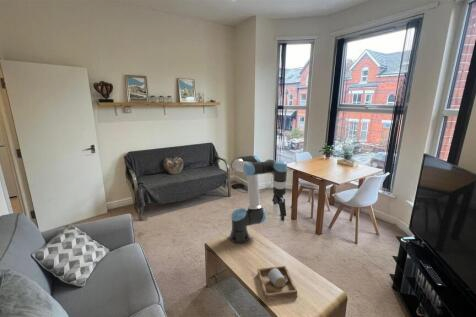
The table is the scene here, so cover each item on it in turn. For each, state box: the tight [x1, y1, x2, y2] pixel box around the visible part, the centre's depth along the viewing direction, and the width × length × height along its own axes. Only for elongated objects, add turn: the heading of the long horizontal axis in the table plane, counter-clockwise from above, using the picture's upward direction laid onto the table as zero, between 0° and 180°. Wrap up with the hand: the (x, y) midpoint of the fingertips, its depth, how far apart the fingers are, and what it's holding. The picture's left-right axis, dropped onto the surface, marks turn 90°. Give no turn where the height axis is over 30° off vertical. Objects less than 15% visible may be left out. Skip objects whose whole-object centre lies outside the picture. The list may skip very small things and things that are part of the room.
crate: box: [257, 265, 298, 302], centre depth 136 cm, size 20×18×4 cm
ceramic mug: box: [268, 268, 287, 288], centre depth 136 cm, size 11×8×8 cm
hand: (278, 219), depth 142 cm, fingers open, 13 cm apart
